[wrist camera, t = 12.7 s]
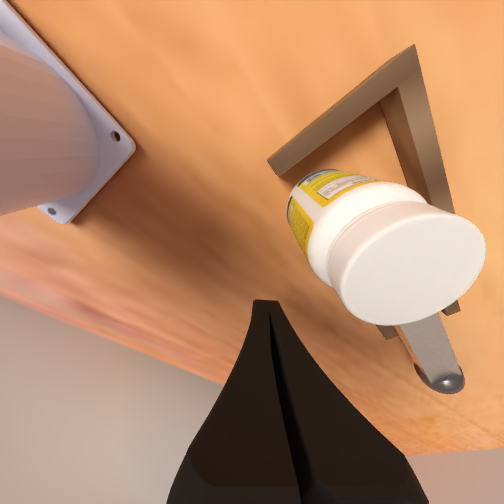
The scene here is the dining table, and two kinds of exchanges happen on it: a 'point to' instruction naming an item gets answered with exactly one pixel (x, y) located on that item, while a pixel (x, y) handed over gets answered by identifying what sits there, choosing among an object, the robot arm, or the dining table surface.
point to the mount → (401, 129)
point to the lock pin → (432, 354)
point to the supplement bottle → (383, 246)
